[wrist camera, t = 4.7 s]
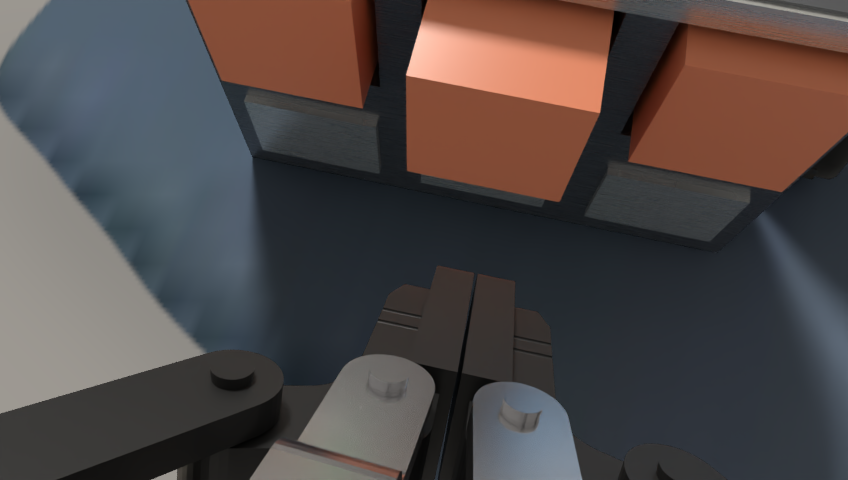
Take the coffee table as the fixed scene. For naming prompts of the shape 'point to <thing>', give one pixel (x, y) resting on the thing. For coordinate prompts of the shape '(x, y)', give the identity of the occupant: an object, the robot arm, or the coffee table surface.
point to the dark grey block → (607, 144)
